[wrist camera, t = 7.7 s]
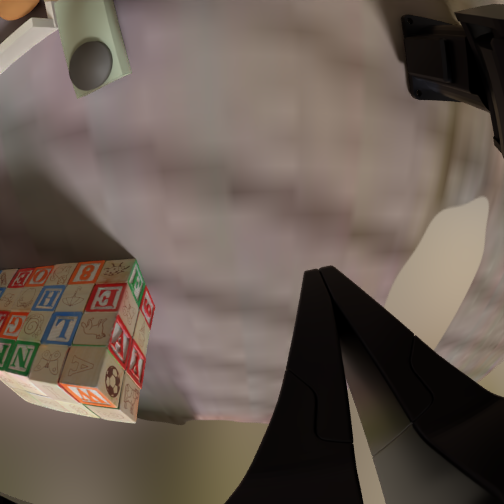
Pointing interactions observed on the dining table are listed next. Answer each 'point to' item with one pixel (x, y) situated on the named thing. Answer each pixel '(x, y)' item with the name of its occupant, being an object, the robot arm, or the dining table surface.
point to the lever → (91, 43)
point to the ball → (16, 8)
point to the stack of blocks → (76, 336)
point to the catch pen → (27, 37)
